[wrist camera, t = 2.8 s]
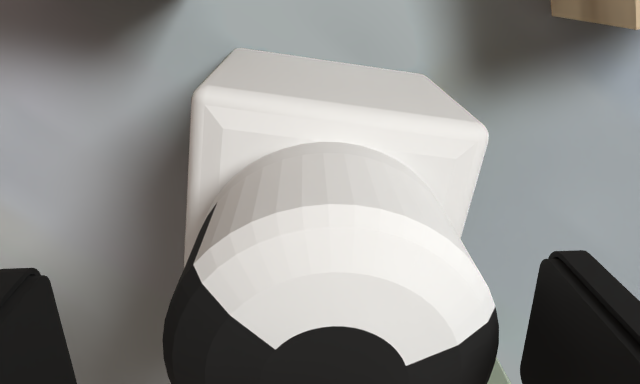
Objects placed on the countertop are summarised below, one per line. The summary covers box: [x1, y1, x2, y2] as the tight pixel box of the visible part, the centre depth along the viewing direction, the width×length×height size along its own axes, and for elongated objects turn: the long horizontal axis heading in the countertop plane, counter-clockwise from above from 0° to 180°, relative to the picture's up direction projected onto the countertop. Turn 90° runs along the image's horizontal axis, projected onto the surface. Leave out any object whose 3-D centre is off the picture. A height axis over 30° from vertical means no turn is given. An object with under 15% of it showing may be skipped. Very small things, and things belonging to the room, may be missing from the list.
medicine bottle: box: [163, 48, 499, 384], centre depth 14 cm, size 7×7×12 cm
